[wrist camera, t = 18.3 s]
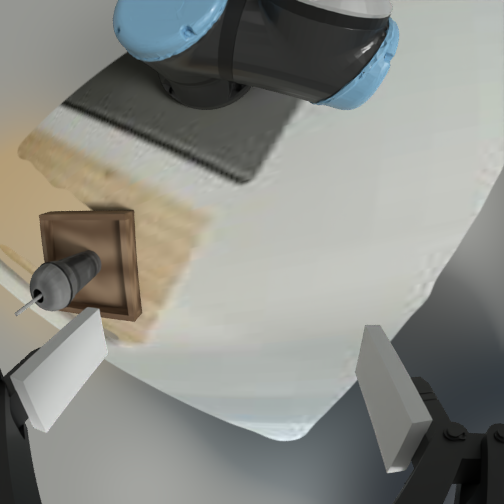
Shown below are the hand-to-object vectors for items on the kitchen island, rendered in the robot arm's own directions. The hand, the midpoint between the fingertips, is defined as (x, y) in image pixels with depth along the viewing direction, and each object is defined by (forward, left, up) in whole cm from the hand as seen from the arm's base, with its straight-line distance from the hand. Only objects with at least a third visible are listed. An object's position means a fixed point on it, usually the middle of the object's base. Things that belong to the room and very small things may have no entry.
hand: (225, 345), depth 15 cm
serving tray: (+8, -29, -35) cm, 46 cm away
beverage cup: (+8, -29, -34) cm, 45 cm away
